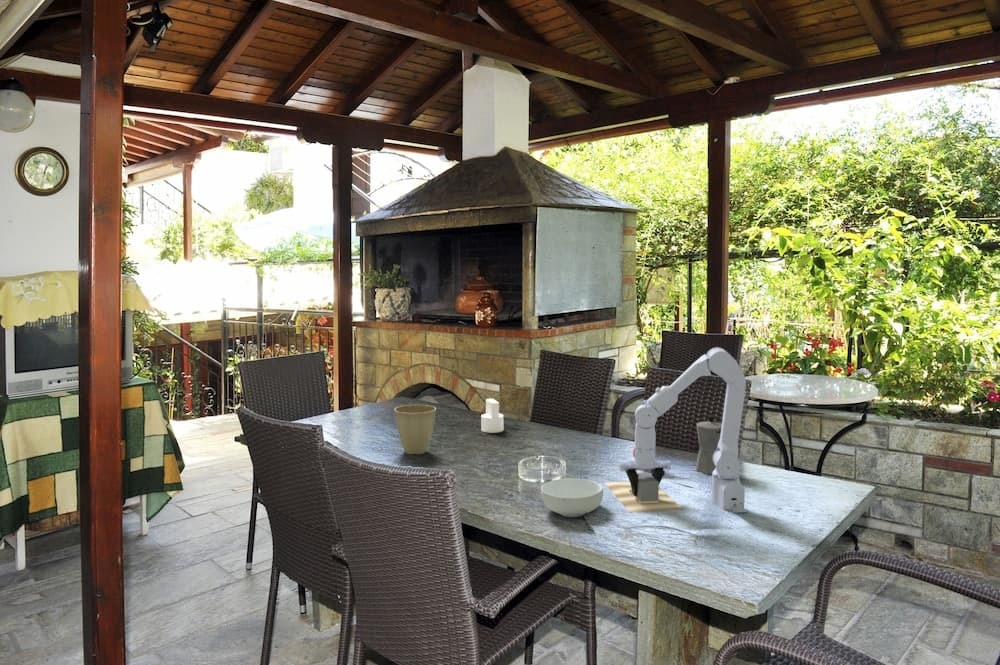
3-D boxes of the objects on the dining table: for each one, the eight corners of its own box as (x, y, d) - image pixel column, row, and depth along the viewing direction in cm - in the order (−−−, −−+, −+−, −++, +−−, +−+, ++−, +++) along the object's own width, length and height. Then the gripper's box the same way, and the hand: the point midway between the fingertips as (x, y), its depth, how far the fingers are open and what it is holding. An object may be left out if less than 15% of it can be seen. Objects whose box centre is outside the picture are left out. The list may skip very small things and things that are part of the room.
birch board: (683, 514, 193) (683, 509, 193) (629, 516, 191) (629, 512, 191) (651, 484, 218) (651, 480, 218) (604, 486, 217) (604, 482, 216)
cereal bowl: (564, 497, 207) (564, 474, 206) (614, 510, 196) (614, 485, 196) (528, 514, 194) (528, 488, 193) (580, 528, 183) (580, 501, 183)
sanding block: (658, 502, 198) (658, 481, 197) (640, 503, 197) (641, 482, 197) (647, 492, 207) (648, 472, 206) (631, 493, 206) (631, 473, 206)
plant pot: (416, 460, 247) (415, 414, 245) (386, 453, 256) (385, 409, 254) (445, 450, 259) (444, 407, 257) (415, 444, 268) (414, 402, 266)
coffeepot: (686, 465, 237) (687, 412, 235) (712, 463, 240) (713, 411, 238) (711, 479, 222) (712, 423, 221) (738, 477, 225) (739, 421, 223)
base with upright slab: (478, 428, 292) (478, 399, 291) (499, 426, 295) (499, 398, 294) (484, 433, 284) (484, 403, 283) (506, 431, 287) (506, 402, 285)
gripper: (665, 442, 205) (664, 488, 207) (615, 444, 204) (615, 491, 205) (673, 449, 198) (673, 496, 200) (623, 451, 197) (622, 499, 198)
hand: (644, 494), depth 202 cm, fingers closed on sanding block, 5 cm apart
